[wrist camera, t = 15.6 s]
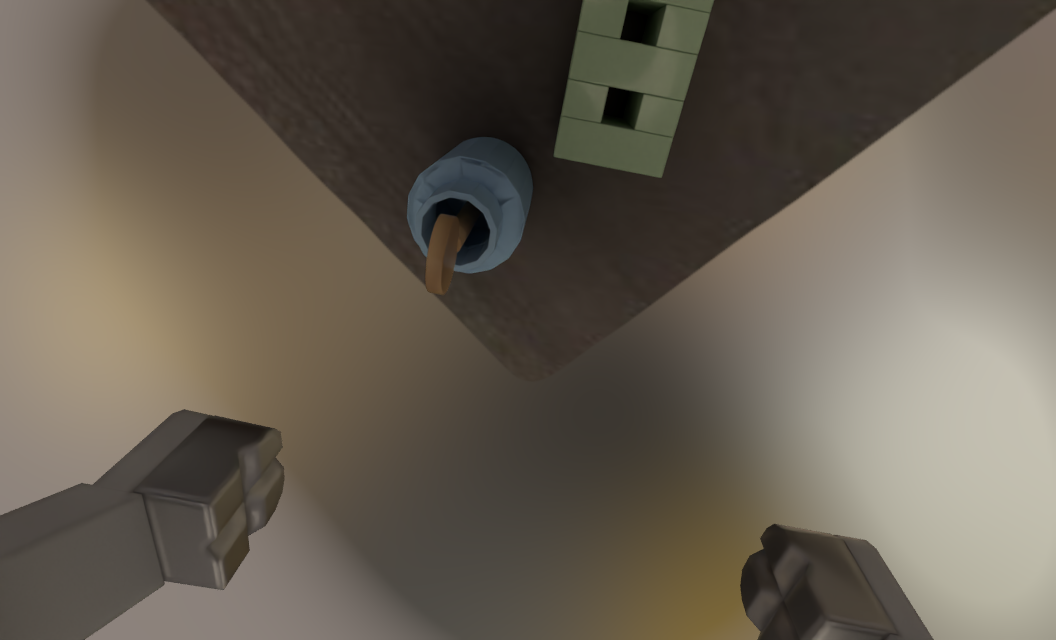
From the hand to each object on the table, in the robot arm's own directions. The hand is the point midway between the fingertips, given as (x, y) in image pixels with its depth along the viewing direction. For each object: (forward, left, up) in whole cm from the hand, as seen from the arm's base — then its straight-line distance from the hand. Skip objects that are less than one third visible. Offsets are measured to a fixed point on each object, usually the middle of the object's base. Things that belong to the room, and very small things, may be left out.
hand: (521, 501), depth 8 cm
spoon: (+3, -5, -32) cm, 33 cm away
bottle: (+3, -5, -33) cm, 33 cm away
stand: (-9, +3, -33) cm, 34 cm away
